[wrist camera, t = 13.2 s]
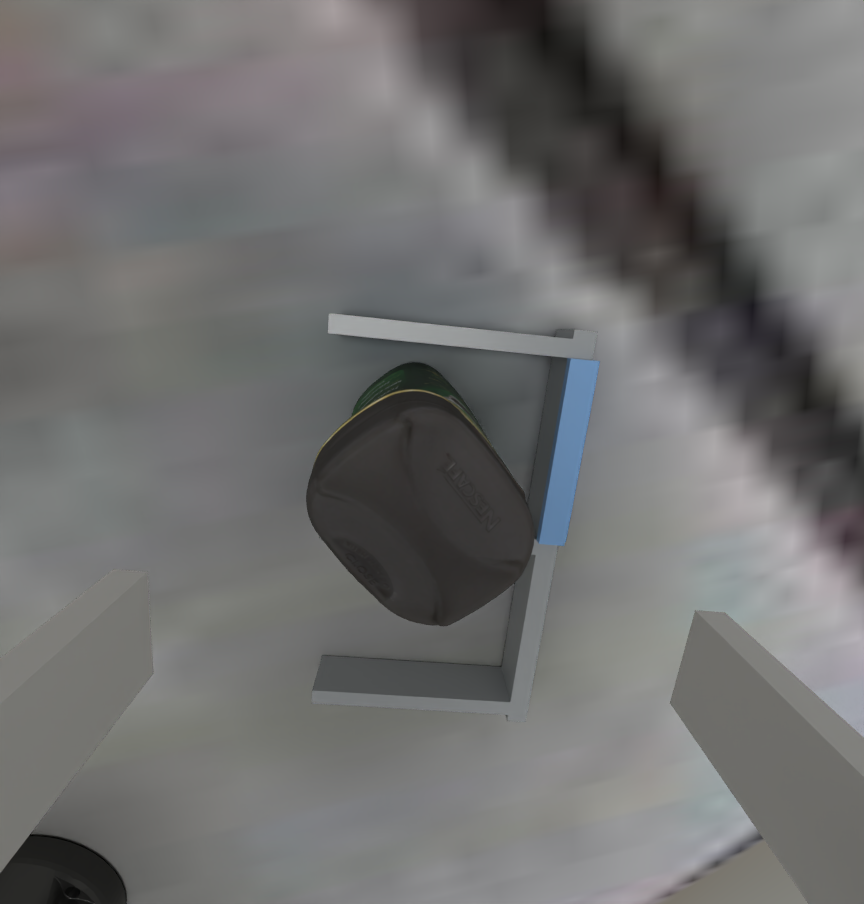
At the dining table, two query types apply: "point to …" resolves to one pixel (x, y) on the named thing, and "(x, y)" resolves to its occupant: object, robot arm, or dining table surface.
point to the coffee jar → (420, 501)
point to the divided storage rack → (551, 519)
